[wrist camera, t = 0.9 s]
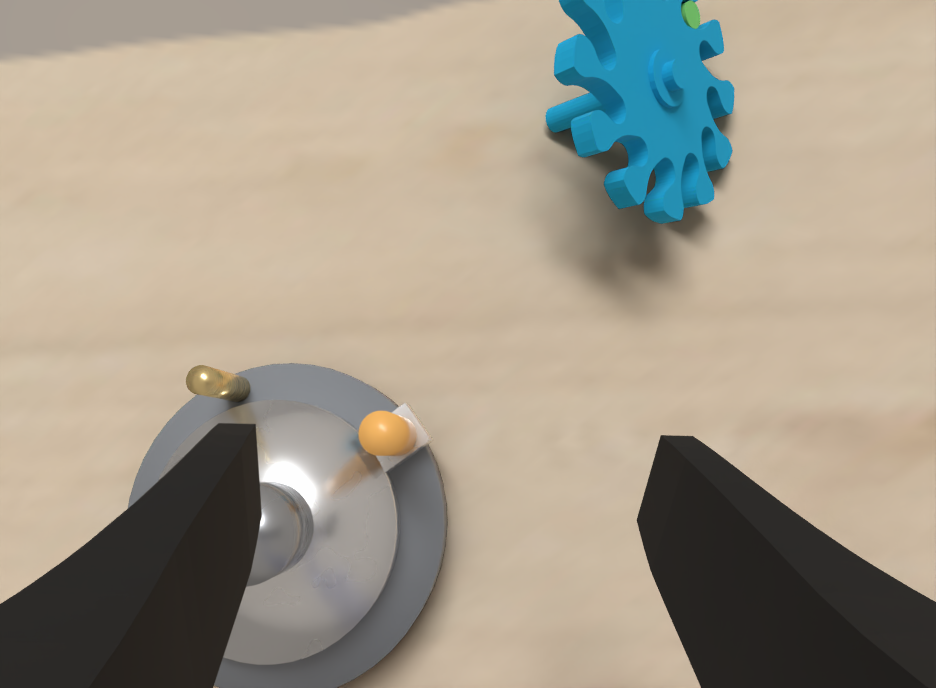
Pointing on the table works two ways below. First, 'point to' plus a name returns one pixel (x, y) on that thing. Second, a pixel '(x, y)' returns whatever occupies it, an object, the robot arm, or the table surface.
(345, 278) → the table surface
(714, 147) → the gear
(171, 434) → the post base
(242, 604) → the flange
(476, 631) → the table surface
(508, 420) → the table surface
